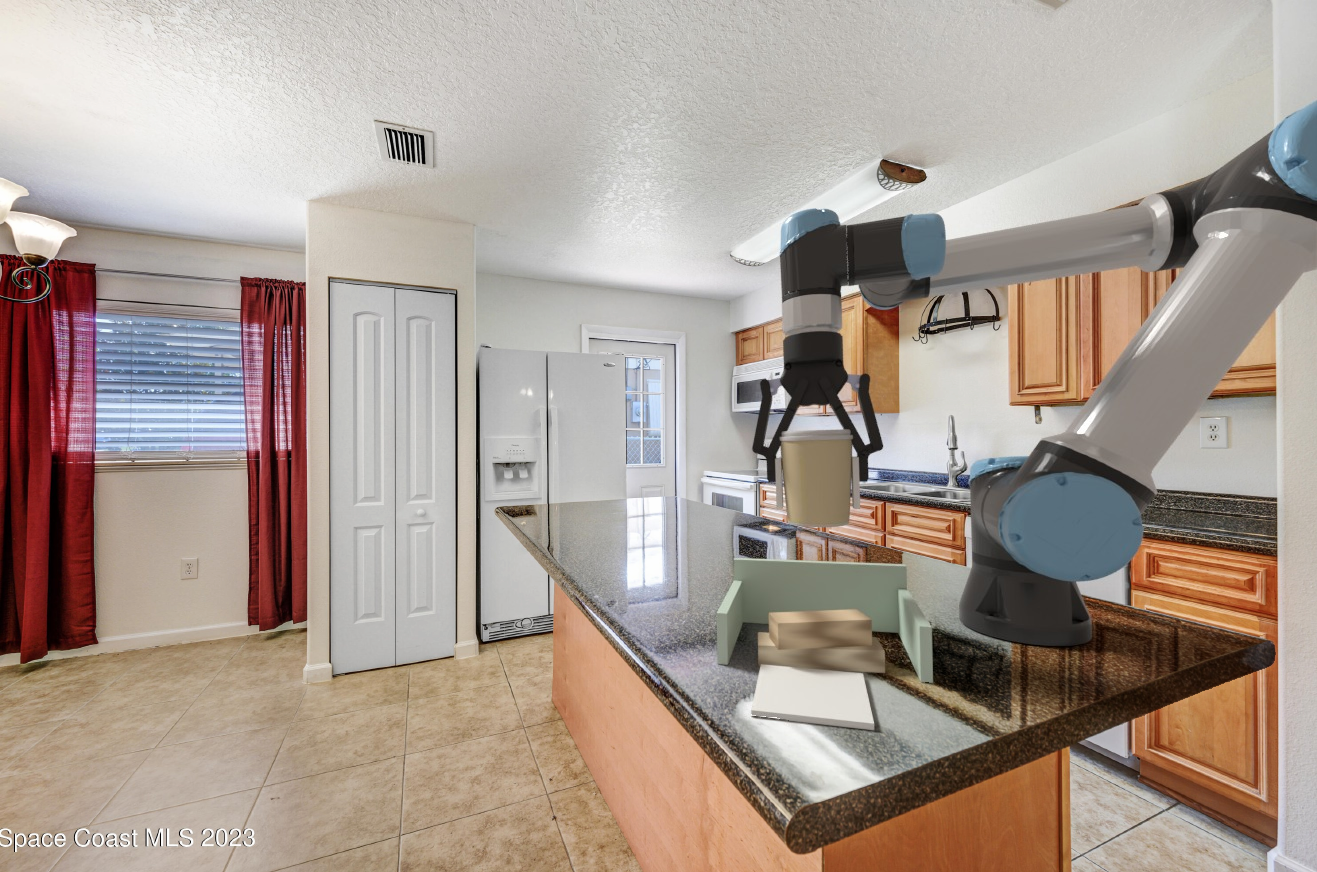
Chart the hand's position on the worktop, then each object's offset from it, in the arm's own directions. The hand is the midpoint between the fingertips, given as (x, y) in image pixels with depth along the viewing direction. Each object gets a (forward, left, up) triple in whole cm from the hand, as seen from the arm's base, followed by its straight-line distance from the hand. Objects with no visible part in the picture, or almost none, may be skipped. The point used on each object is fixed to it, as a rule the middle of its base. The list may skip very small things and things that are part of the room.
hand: (817, 507), depth 72 cm
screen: (0, +2, -17) cm, 18 cm away
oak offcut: (0, +7, -15) cm, 16 cm away
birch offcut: (0, +7, -18) cm, 19 cm away
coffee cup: (0, 0, -2) cm, 2 cm away
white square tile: (+1, +16, -17) cm, 24 cm away
